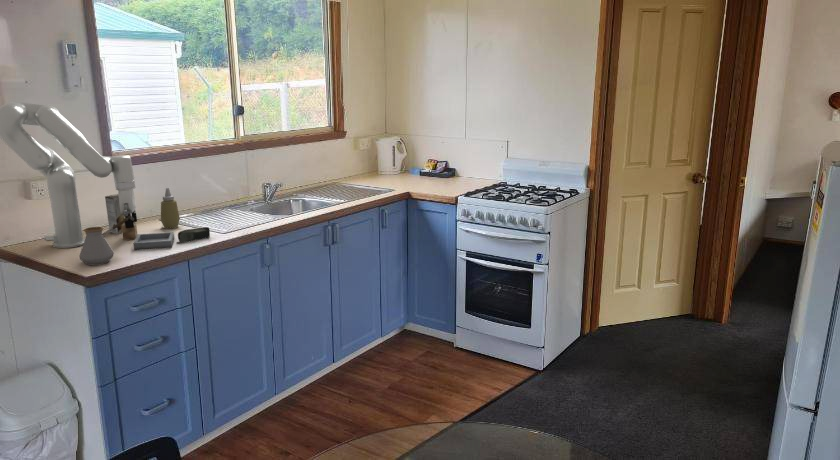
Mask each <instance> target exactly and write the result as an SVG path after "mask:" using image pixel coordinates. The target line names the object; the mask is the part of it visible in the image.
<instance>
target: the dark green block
mask: <svg viewBox="0 0 840 460" xmlns="http://www.w3.org/2000/svg"><path fill="white" fill-rule="evenodd" d="M210 236H211V234H210V227H207V226H205V227H197V228H190V229H183V230H180V231H179V232H178V234H177V238H178V241H177V242H176V244H182V243H188V242H189V241H190V242H194V241H199V240H206V239H209V238H210ZM190 242H189V243H190Z"/></svg>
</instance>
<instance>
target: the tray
mask: <svg viewBox="0 0 840 460" xmlns="http://www.w3.org/2000/svg"><path fill="white" fill-rule="evenodd" d="M174 241H175V232H174V231H171V232H169V231H168V232H151V233H150V232H149V233H137V237H136V239H134V241H133V243H132V244H133V245H132V246H133V251H142V250H143V251H145V250H158V249H159V250H160V249H172V248H173V245H174Z"/></svg>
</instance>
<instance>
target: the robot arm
mask: <svg viewBox="0 0 840 460" xmlns="http://www.w3.org/2000/svg"><path fill="white" fill-rule="evenodd" d="M23 125H27V126H39V127H41V129H43V130H44V131H45V132H46V133H47V134H49V135H50V136H51V137H52V138H53V140H55V141H56V142H57V143H59V144H60V145H61V146H62V147H63V148H64V149H65V150H66V151H67V153H69V154H70V155H71V156H73V157H74V158H75V159H76V160H77V161H78V162H79V163H80V164H81V165H82V166H83V167H84V168H85V169H86V170H87V171H89V172H90V173H91V174H93V175H94V176H95V177H97V178H101V179H102V178H107V177H108V176H110V174H113V180H114V188H115V191H117V194H118V196H119V205H120V213H121V214H123V213H124V219H125V218H128V217H129V216H132V217H133V218H134V219H133V218H132V217H131V219H132V220H131V219H128V221H125V227H126V228H133V227H134V223H133V222H135V223H137V222H138V218H137V217H138V216H137V212H136V207H137V206H136V198H135V191H134V190H135V189H136V182H135V181H136V180H135V177H134V170H133V163H132V158H131V156H130V155H126V154H121V155H120V154H119V155H113V156H108V155H107V156H104V155H102V154H100V153H99V151H97V150H96V149H95V148H94V147H93V146H92V145H91V144H90V142H89V141H87V139H86V137H85V136H84V134H82V132H81V131H80V130H78V129H77V127H75V126H74V125H73V124H72V123H71V122H70V121H69V120H68V119H66V117H64V116H63V115H62V114H61V113H60V111H59V109H58V108H57V107H55V106H53V105H48V104H39V103H38V104H37V103H30V102H29V103H28V102H20V101H9V102H6V103H4V104H2V105H1V106H0V139H1V140H2V142H4V143H5V145H7V146H8V148H9V149H11V151H13V152H14V153H15V154H16V155H17V156H18V157H19V158H20V160H22V161H23V162H24V163H25V164H27V165H28V167H29V168H31V169H33V170H34V171H38V172H40V173H41V174H42V175H43V176H45V177H46V185H47V190H48V195H49V199H50V200H49V201H50V207H51V212H52V213H51V214H52V219H53V227H54V234H53V235H44V236H43V239H44V241H46V242H51V243H52V247H53V248H56V249H57V248H58V249H69V248H76V247H81V246H83V244H84V241H85V238H86V237H84V236H83V228H82V227H83V226H82V221H81V213H80V207H79V198H78V192H77V186H76V185H77V184H76V173H75V171H74V169H73V168H72V167H71V165H70V164H68V163H67V162H66V161H65V160H64V159H63V158H61V156H59V155H58V154H57V153H56V152H55V150H54V149H53V148H50V147H49V146H48V145H45V144H42V143H39V142H38V141H37V140H36V139H35V138H34V137H33V136H32V135H31V134H30V133H29V132H28V131H27V130H25V129H24V127H23Z"/></svg>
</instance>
